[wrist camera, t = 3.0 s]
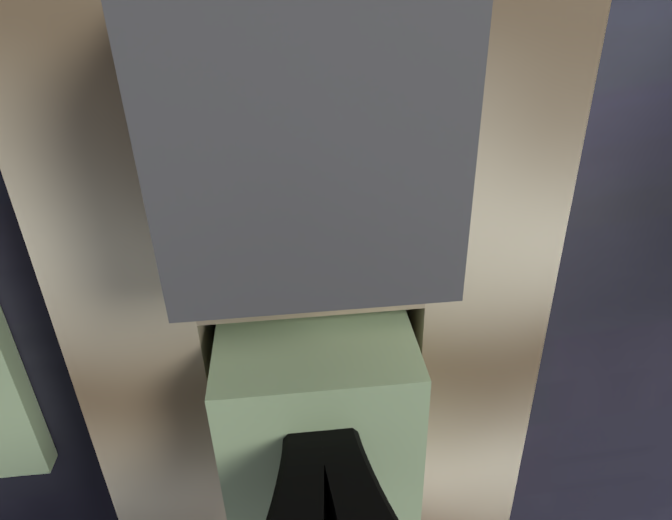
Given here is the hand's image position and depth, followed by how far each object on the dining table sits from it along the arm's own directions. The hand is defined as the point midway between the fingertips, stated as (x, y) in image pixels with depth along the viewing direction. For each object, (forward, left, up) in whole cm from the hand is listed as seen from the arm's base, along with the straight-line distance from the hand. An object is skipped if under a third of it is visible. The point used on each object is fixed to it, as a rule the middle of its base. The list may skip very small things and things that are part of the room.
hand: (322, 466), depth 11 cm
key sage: (0, 0, -3) cm, 3 cm away
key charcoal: (+6, 0, -2) cm, 7 cm away
